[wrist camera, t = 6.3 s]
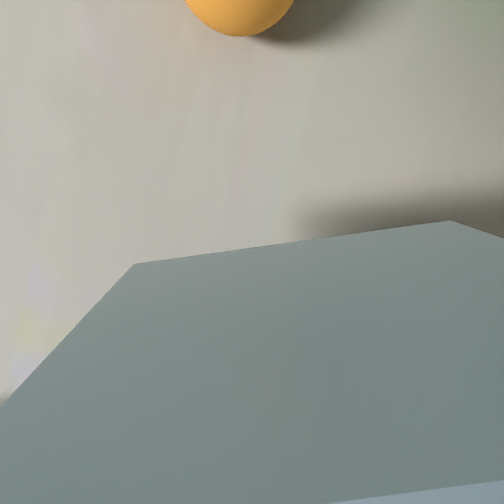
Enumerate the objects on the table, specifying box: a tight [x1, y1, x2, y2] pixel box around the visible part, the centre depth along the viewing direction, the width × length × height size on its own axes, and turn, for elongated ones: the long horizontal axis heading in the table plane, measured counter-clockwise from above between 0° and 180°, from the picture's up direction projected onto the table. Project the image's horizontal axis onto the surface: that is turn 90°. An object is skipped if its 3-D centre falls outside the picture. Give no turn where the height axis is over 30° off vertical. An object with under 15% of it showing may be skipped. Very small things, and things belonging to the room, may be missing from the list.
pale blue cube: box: [0, 220, 504, 504], centre depth 9 cm, size 10×10×9 cm
